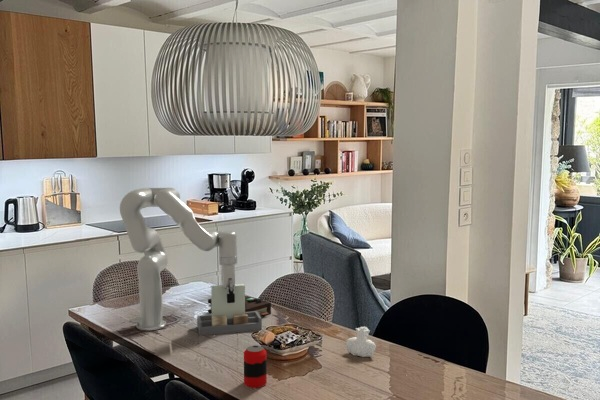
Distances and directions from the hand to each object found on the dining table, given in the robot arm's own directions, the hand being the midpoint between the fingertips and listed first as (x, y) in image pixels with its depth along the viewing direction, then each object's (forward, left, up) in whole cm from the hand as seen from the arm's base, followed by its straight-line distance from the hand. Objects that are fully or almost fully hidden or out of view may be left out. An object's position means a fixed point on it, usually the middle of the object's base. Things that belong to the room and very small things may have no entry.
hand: (229, 299), depth 242 cm
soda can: (+1, -57, -13) cm, 59 cm away
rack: (0, -2, -13) cm, 13 cm away
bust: (+45, -41, -13) cm, 62 cm away
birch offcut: (-5, -5, -12) cm, 14 cm away
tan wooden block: (+4, -5, -12) cm, 13 cm away
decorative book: (+7, +20, -14) cm, 25 cm away
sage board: (0, 0, -12) cm, 12 cm away
